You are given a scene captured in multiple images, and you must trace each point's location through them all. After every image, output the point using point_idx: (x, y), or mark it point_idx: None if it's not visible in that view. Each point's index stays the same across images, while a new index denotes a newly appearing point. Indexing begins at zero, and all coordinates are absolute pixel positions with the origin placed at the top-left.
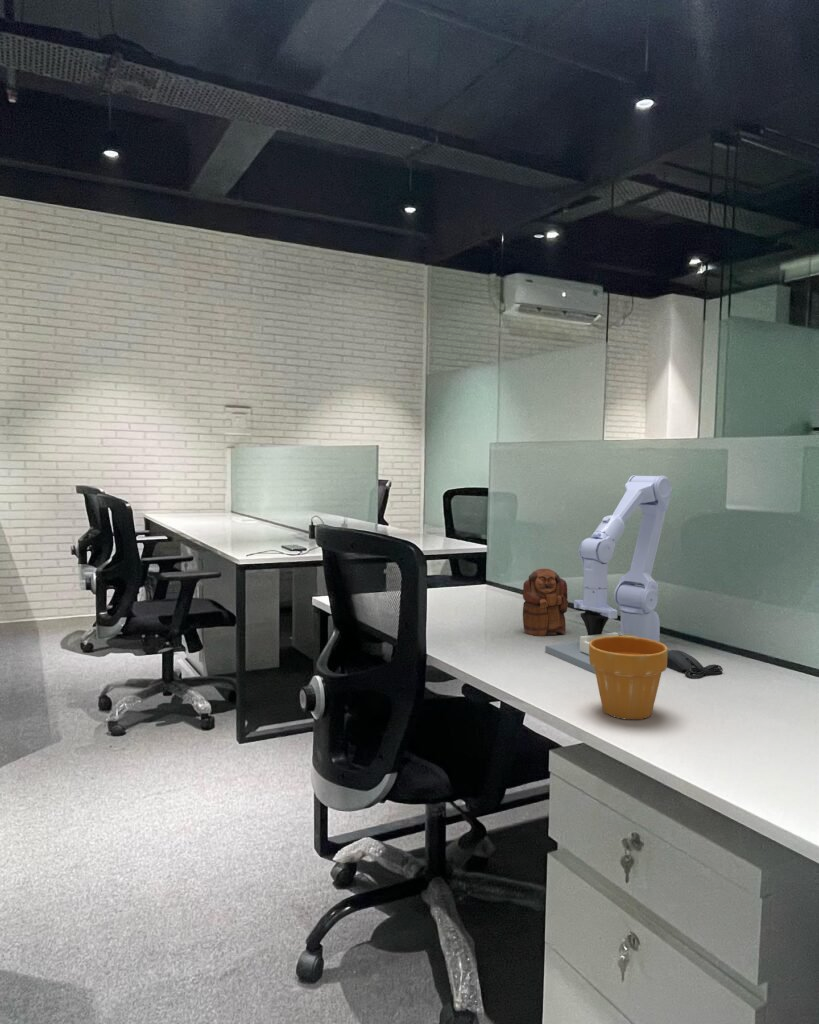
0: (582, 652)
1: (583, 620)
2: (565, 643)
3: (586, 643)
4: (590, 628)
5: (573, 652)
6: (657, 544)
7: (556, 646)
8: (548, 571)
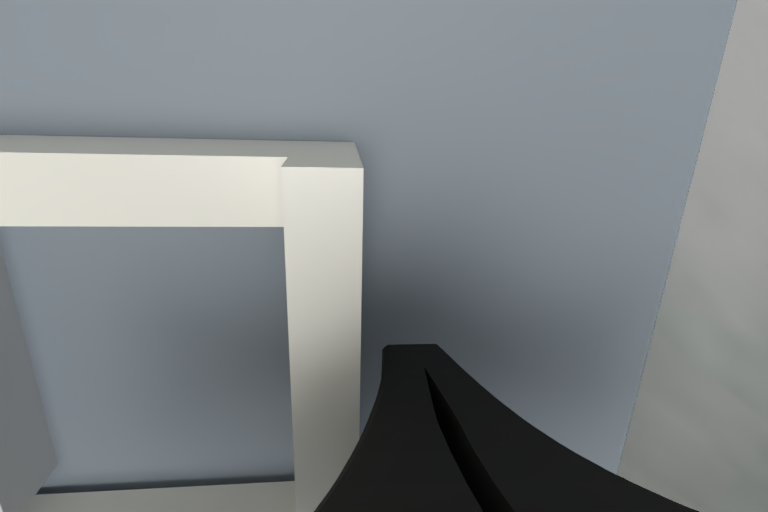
0: None
1: (625, 486)
2: (675, 213)
3: (203, 156)
4: (412, 432)
5: (368, 64)
6: None
7: (650, 49)
8: None
